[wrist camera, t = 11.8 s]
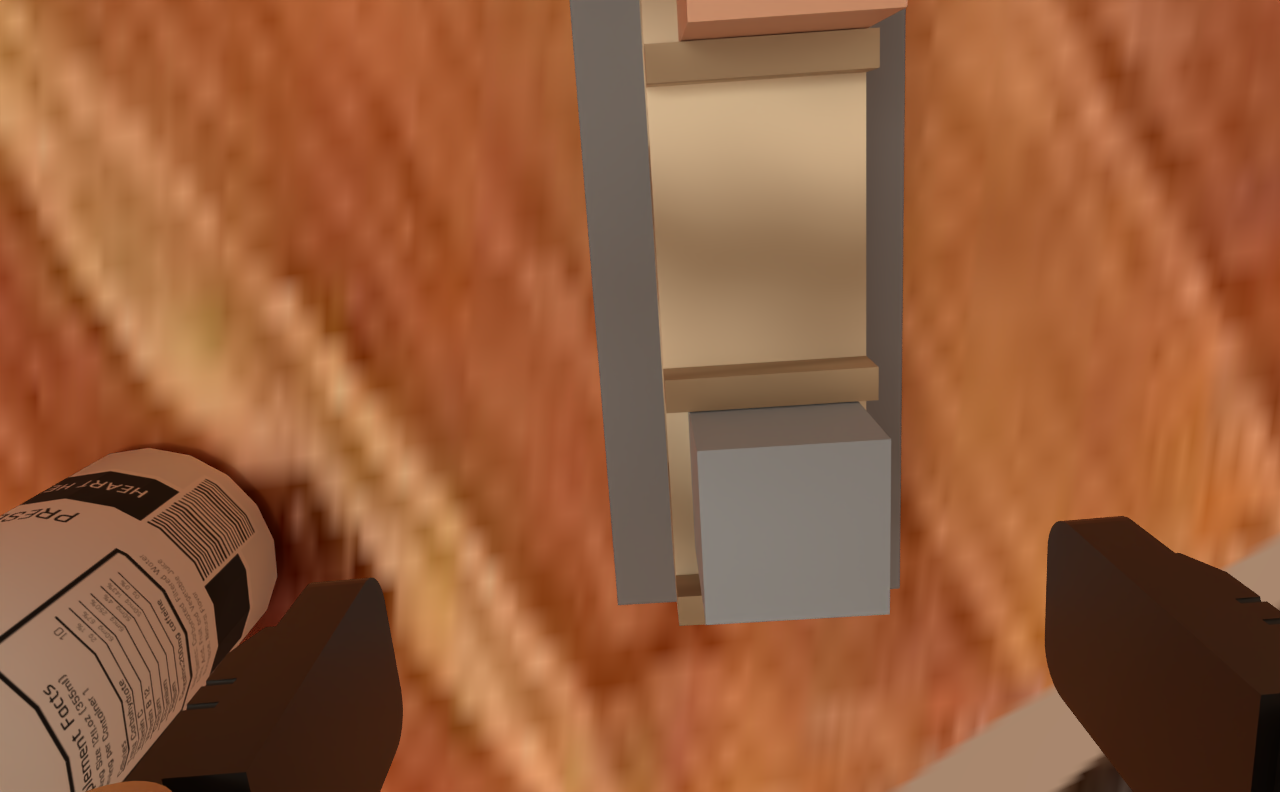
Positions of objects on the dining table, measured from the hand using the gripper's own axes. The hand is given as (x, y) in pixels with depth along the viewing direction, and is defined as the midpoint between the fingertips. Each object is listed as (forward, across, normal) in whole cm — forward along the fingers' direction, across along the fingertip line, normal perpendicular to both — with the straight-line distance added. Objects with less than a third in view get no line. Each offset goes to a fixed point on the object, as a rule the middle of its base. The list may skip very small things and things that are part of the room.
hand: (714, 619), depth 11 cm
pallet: (+16, -2, -3) cm, 17 cm away
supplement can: (+21, +19, +7) cm, 29 cm away
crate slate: (+12, -2, +3) cm, 12 cm away
